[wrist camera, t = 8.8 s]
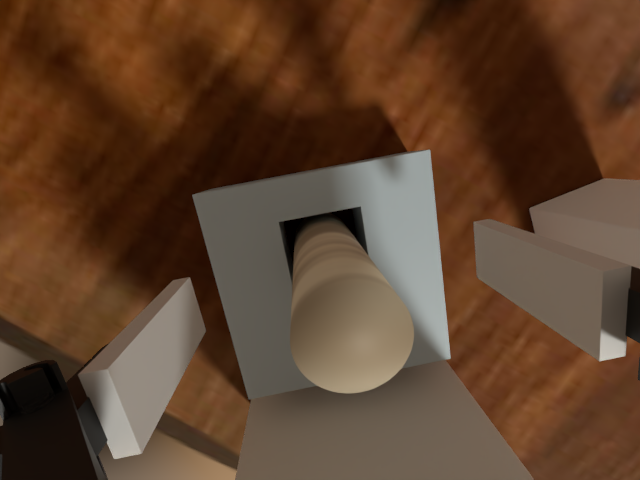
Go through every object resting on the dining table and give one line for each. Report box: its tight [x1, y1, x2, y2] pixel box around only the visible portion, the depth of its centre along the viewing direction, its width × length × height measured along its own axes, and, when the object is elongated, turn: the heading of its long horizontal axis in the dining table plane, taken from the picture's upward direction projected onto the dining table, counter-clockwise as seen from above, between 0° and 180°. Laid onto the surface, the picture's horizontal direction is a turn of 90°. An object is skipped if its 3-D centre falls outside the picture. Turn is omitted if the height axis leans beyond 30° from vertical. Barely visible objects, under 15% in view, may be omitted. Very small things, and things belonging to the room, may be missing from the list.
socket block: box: [192, 150, 451, 399], centre depth 23 cm, size 14×14×4 cm
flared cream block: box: [235, 360, 534, 480], centre depth 17 cm, size 6×16×19 cm, turn 100°
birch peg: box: [290, 213, 414, 393], centre depth 17 cm, size 4×4×14 cm
